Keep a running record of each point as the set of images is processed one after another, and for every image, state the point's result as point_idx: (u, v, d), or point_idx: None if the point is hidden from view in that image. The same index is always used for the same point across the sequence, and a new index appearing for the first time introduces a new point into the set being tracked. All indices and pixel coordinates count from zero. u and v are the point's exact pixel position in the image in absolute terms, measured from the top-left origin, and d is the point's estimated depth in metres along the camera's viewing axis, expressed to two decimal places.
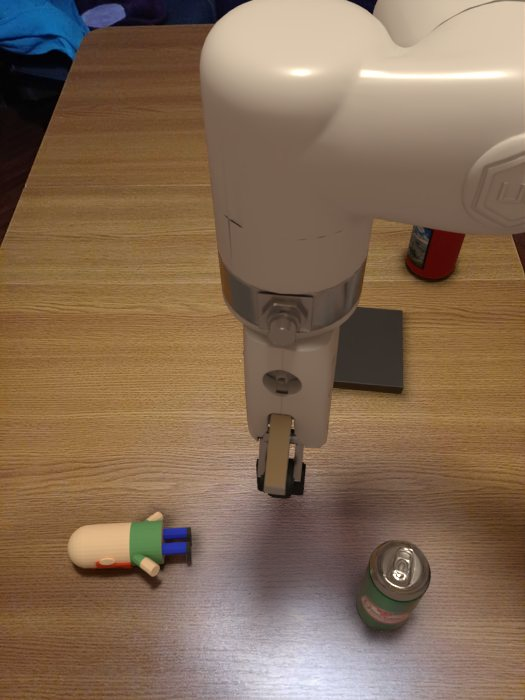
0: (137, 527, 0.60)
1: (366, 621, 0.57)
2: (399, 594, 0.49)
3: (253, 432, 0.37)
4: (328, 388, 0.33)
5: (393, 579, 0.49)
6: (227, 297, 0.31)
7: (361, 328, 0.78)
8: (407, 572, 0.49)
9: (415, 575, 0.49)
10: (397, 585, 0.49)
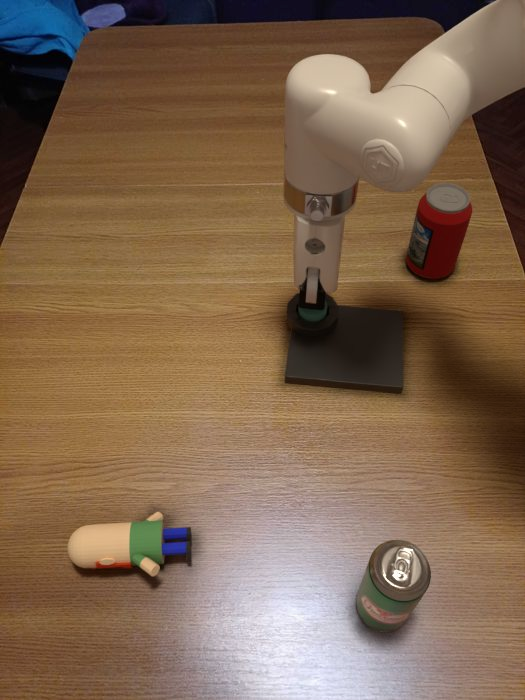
0: (137, 527, 0.60)
1: (366, 621, 0.57)
2: (399, 594, 0.49)
3: (297, 282, 0.67)
4: (338, 250, 0.63)
5: (393, 579, 0.49)
6: (287, 201, 0.62)
7: (361, 328, 0.78)
8: (407, 572, 0.49)
9: (415, 575, 0.49)
10: (397, 585, 0.49)
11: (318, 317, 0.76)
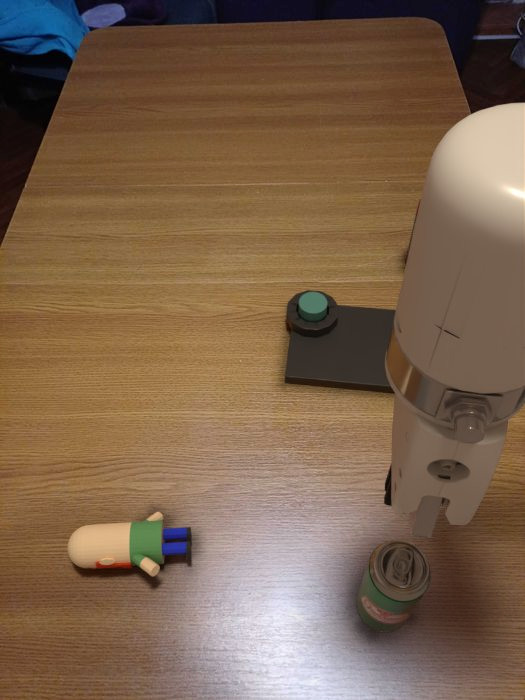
0: (137, 527, 0.60)
1: (366, 621, 0.57)
2: (399, 594, 0.49)
3: (400, 509, 0.36)
4: (493, 475, 0.32)
5: (393, 579, 0.49)
6: (398, 384, 0.31)
7: (361, 328, 0.78)
8: (407, 572, 0.49)
9: (415, 575, 0.49)
10: (397, 585, 0.49)
11: (318, 315, 0.76)
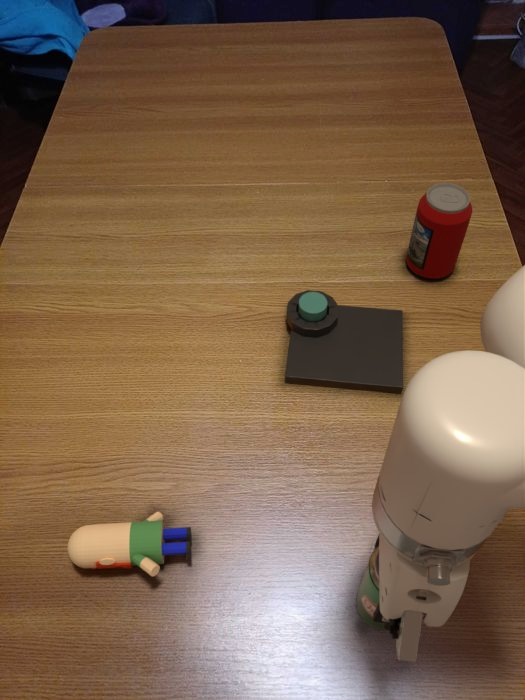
0: (137, 527, 0.60)
1: (366, 621, 0.57)
2: None
3: (386, 616, 0.44)
4: (460, 597, 0.40)
5: None
6: (383, 531, 0.39)
7: (361, 328, 0.78)
8: None
9: None
10: None
11: (318, 315, 0.76)
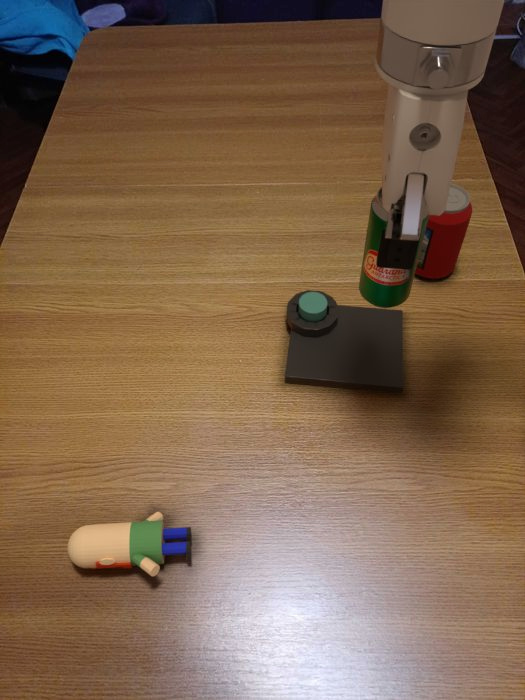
0: (137, 527, 0.60)
1: (369, 296, 0.60)
2: (400, 217, 0.51)
3: (389, 199, 0.46)
4: (458, 144, 0.43)
5: None
6: (386, 67, 0.41)
7: (361, 328, 0.78)
8: None
9: None
10: None
11: (318, 315, 0.76)
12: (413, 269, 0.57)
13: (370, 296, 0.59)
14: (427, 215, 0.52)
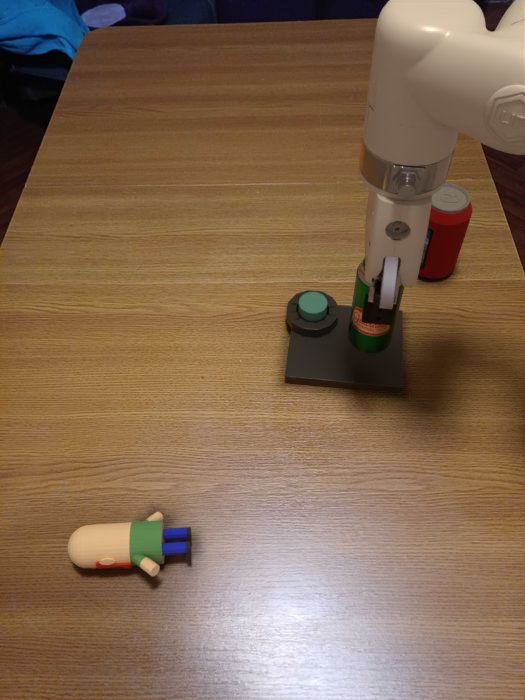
0: (137, 527, 0.60)
1: (356, 343, 0.69)
2: None
3: (370, 274, 0.56)
4: (425, 236, 0.52)
5: None
6: (366, 175, 0.51)
7: None
8: None
9: None
10: None
11: (318, 315, 0.76)
12: (393, 322, 0.66)
13: (357, 343, 0.69)
14: None
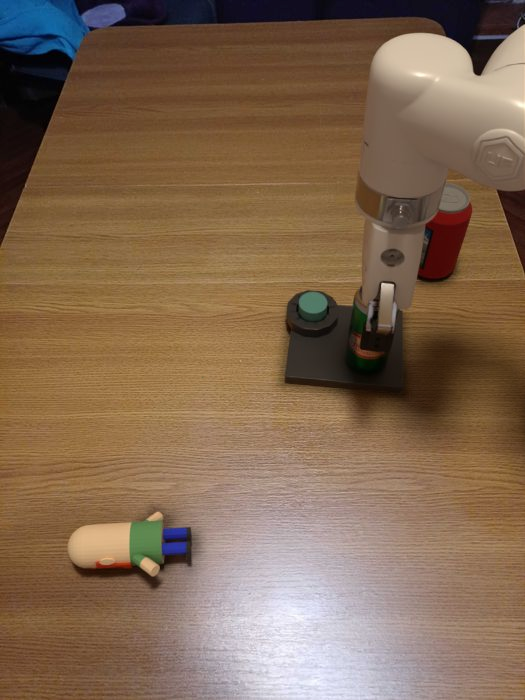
0: (137, 527, 0.60)
1: (353, 365, 0.73)
2: (376, 311, 0.64)
3: (367, 298, 0.59)
4: (419, 262, 0.55)
5: None
6: (362, 205, 0.54)
7: None
8: None
9: None
10: None
11: (318, 315, 0.76)
12: None
13: (354, 365, 0.73)
14: (398, 309, 0.65)
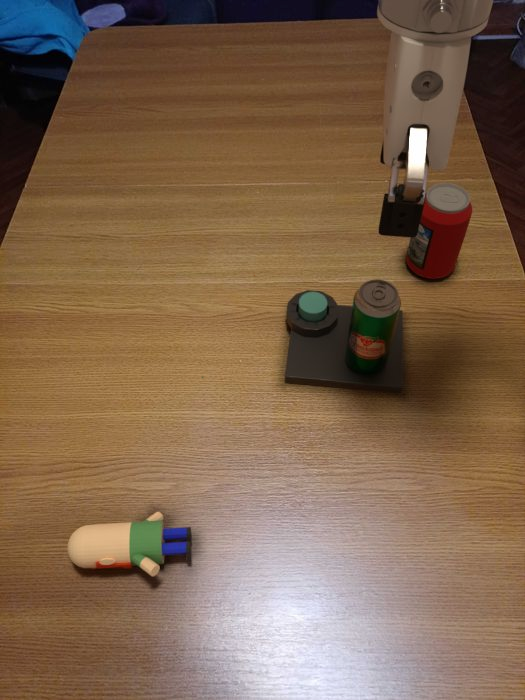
0: (137, 527, 0.60)
1: (353, 365, 0.73)
2: (376, 311, 0.64)
3: (390, 153, 0.46)
4: (461, 94, 0.42)
5: (371, 302, 0.65)
6: (388, 13, 0.41)
7: None
8: (382, 298, 0.65)
9: (388, 298, 0.65)
10: (375, 304, 0.64)
11: (318, 315, 0.76)
12: (388, 346, 0.70)
13: (354, 365, 0.73)
14: (398, 309, 0.65)
